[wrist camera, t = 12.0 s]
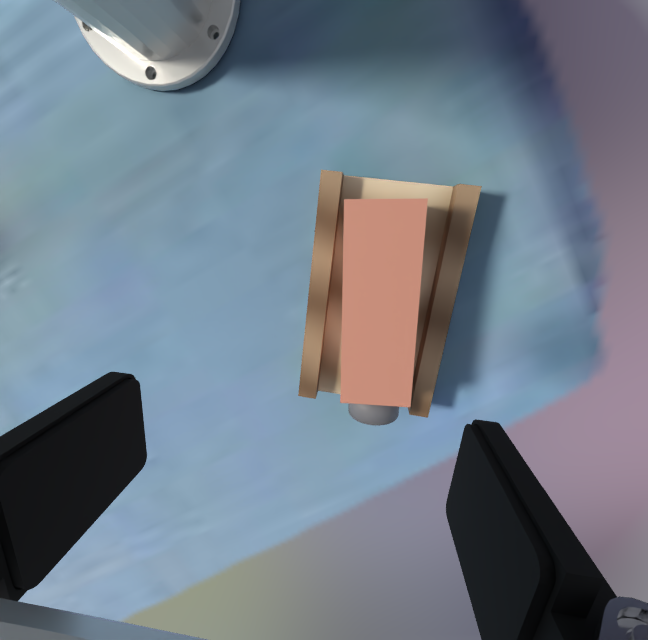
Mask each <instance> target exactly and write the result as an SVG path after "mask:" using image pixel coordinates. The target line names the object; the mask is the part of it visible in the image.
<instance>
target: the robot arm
mask: <svg viewBox="0 0 648 640" xmlns="http://www.w3.org/2000/svg"><path fill="white" fill-rule="evenodd" d="M53 1H55V2H56V3H58V4H59V5H60V6H62V7H63V8H64V9H66V10H67V11H69V12H70V13H71V14H73V15H74V17H75V19H76V21H77V24H78V26H79V28H80V30H81V32H82V34H83V36H84V38H85V39H86V41H87V42H88V44H89V45H90V47H91V48H92V50H93V51H94V52H95V54H96V55H97V56H98V57H99V58H100V59H101V60H102V61H103V62H104V63H105V65H107V66H108V67H109V68H111V69H112V70H113V71H115V72H116V73H117V74H118V75H120V76H122V77H123V78H125V79H127V80H128V81H130V82H132V83H133V84H136V85H139V86H141V87H144V88H147V89H152V90H159V91H168V90H177V89H180V88H183V87H186V86H189V85H192V84H193V83H195V82H196V81H198V80H200V79H201V78H203V77H204V76H205V75H206V74H207V73H208V72H209V71H210V70H212V69H213V68H214V67H215V66H216V64H217V63H218V61H219V60H220V59H221V57H222V56H223V54H224V53H225V51H226V49H227V47H228V45H229V43H230V40H231V38H232V36H233V34H234V30H235V26H236V23H237V19H238V15H239V7H240V0H53ZM218 36H219V37H218ZM217 37H218V38H217ZM216 38H217V39H216ZM146 459H147V451H146V441H145V431H144V421H143V411H142V401H141V391H140V383H139V382H138V381H137V380H136V379H135V377H134V376H133V375H132V374H126V373H119V372H109V373H107V374H106V375H104V376H102V377H100V378H99V379H97V380H95V381H94V382H92V383H90V384H89V385H87V386H85V387H83V388H82V389H80V390H78V391H77V392H75V393H73V394H72V395H70V396H68V397H66V398H65V399H63V400H61V401H60V402H58V403H56V404H55V405H53V406H51V407H50V408H48V409H46V410H44V411H43V412H41V413H39V414H38V415H36V416H34V417H33V418H31V419H29V420H27V421H26V422H24V423H22V424H21V425H19V426H17V427H16V428H14V429H12V430H11V431H9V432H7V433H5V434H4V435H2V436H0V640H207V639H202V638H197V637H192V636H187V635H183V634H178V633H173V632H168V631H163V630H158V629H153V628H148V627H143V626H138V625H133V624H128V623H124V622H119V621H114V620H109V619H104V618H99V617H94V616H89V615H84V614H79V613H74V612H69V611H63V610H58V609H53V608H48V607H43V606H38V605H33V604H28V603H23V602H18V600H19V599H20V598H21V597H22V596H23V595H24V594H25V593H26V592H27V590H29V589H32V588H34V587H35V586H37V585H38V584H39V583H40V582H41V581H42V580H43V579H44V578H45V577H46V575H47V574H48V573H49V572H50V571H51V570H52V569H53V568H54V567H55V565H56V564H57V563H58V562H59V561H60V560H61V559H62V558H63V557H64V555H65V554H66V553H67V552H68V551H69V550H70V549H71V548H72V547H73V545H74V544H75V543H76V542H77V541H78V540H79V539H80V538H81V536H82V535H83V534H84V533H85V532H86V531H87V530H88V529H89V528H90V526H91V525H92V524H93V523H94V522H95V521H96V520H97V519H98V518H99V516H100V515H101V514H102V513H103V512H104V511H105V510H106V509H107V508H108V506H109V505H110V504H111V503H112V502H113V501H114V500H115V499H116V498H117V496H118V495H119V494H120V493H121V492H122V491H123V490H124V489H125V487H126V486H127V485H128V484H129V483H130V482H131V481H132V480H133V479H134V477H135V476H136V475H137V474H138V473H139V472H140V471H141V470H142V468H143V467H144V465H145V462H146ZM446 514H447V519H448V522H449V526H450V530H451V533H452V537H453V540H454V544H455V547H456V551H457V554H458V558H459V561H460V565H461V568H462V572H463V575H464V579H465V582H466V586H467V590H468V593H469V597H470V600H471V603H472V607H473V611H474V614H475V618H476V621H477V625H478V628H479V632H480V635H481V639H482V640H648V603H646V602H643V601H640V600H637V599H635V598H629V597H617V596H616V595H615V593H614V592H613V590H612V589H611V587H610V586H609V584H608V583H607V581H606V580H605V578H604V577H603V576H602V574H601V573H600V571H599V570H598V568H597V567H596V565H595V564H594V562H593V561H592V559H591V558H590V556H589V555H588V554H587V552H586V550H585V549H584V547H583V546H582V544H581V543H580V542H579V540H578V539H577V537H576V536H575V534H574V533H573V531H572V530H571V528H570V527H569V525H568V524H567V522H566V521H565V519H564V518H563V516H562V515H561V513H560V512H559V511H558V509H557V508H556V506H555V505H554V503H553V502H552V500H551V499H550V497H549V496H548V494H547V493H546V491H545V490H544V488H543V487H542V486H541V484H540V483H539V481H538V480H537V479H536V477H535V476H534V474H533V473H532V471H531V470H530V468H529V467H528V465H527V464H526V462H525V461H524V459H523V458H522V456H521V455H520V453H519V452H518V450H517V449H516V447H515V446H514V444H513V443H512V442H511V440H510V439H509V437H508V436H507V434H506V433H505V431H504V430H503V428H502V427H501V425H500V424H499V423H497V422H490V421H483V420H474V421H473V422H472V425H471V424H467V425H466V426H465V428H464V432H463V436H462V440H461V444H460V448H459V453H458V457H457V461H456V465H455V469H454V473H453V478H452V482H451V486H450V490H449V494H448V498H447V503H446Z"/></svg>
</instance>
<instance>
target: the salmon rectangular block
mask: <svg viewBox="0 0 648 640" xmlns="http://www.w3.org/2000/svg"><path fill="white" fill-rule="evenodd" d="M427 203H428V198H425V199H344V232H343V288H342V344H341V400H340V403H349V414H350V415H351V416H352V417H353V418H354V419H355V420H357V421H359V422H361V423H364V424H368V425H385V424H389V423H391V422H393V421H395V420H396V419H397V417H398V413H399V407H411V395H412V383H413V371H414V359H415V347H416V335H417V323H418V311H419V299H420V287H421V275H422V263H423V251H424V239H425V227H426V215H427Z"/></svg>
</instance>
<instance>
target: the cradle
mask: <svg viewBox="0 0 648 640" xmlns="http://www.w3.org/2000/svg"><path fill="white" fill-rule="evenodd" d="M481 187H482V186H474V185H464V184H458V185H456V186H454V187H451V186H442V185H432V184H422V183H413V182H403V181H393V180H383V179H374V178H364V177H354V176H345V175H343V172H337V171H327V170H321V177H320V187H319V197H318V207H317V217H316V227H315V237H314V247H313V256H312V266H311V276H310V286H309V296H308V306H307V316H306V326H305V335H304V345H303V355H302V365H301V375H300V385H299V395H298V396H302V397H308V398H314V399H316V395H317V392H318V391H324V392H330V393H337V394H341V344H342V288H343V232H344V199H425V198H428V203H427V215H426V227H425V239H424V251H423V263H422V275H421V287H420V299H419V311H418V323H417V335H416V347H415V359H414V371H413V383H412V395H411V407H408V410H409V414H410V415H416V416H422V417H428V414H429V410H430V406H431V401H432V397H433V393H434V389H435V384H436V380H437V376H438V371H439V367H440V363H441V358H442V354H443V350H444V346H445V341H446V337H447V333H448V328H449V324H450V320H451V315H452V311H453V307H454V303H455V298H456V294H457V290H458V285H459V281H460V277H461V273H462V268H463V264H464V260H465V255H466V251H467V247H468V242H469V238H470V234H471V230H472V225H473V221H474V217H475V212H476V208H477V204H478V199H479V195H480V191H481Z"/></svg>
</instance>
